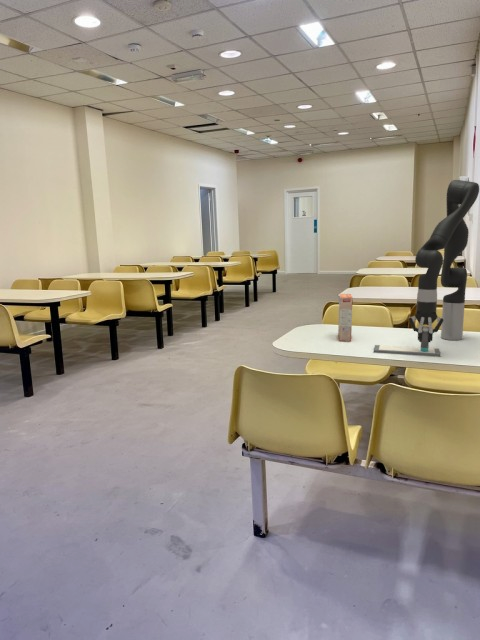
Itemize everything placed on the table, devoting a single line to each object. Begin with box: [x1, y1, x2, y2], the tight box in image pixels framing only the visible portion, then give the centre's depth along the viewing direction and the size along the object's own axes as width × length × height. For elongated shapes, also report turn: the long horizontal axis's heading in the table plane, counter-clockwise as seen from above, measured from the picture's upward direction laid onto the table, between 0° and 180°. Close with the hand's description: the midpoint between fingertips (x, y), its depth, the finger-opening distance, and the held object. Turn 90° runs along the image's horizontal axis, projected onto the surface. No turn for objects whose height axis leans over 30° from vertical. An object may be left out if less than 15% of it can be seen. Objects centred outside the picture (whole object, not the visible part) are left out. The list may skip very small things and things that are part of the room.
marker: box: [420, 325, 430, 352], centre depth 192 cm, size 3×3×10 cm
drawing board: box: [373, 344, 441, 358], centre depth 197 cm, size 10×26×1 cm, turn 70°
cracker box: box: [337, 293, 354, 342], centre depth 223 cm, size 14×6×21 cm, turn 170°
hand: (424, 341), depth 192 cm, fingers closed on marker, 3 cm apart
